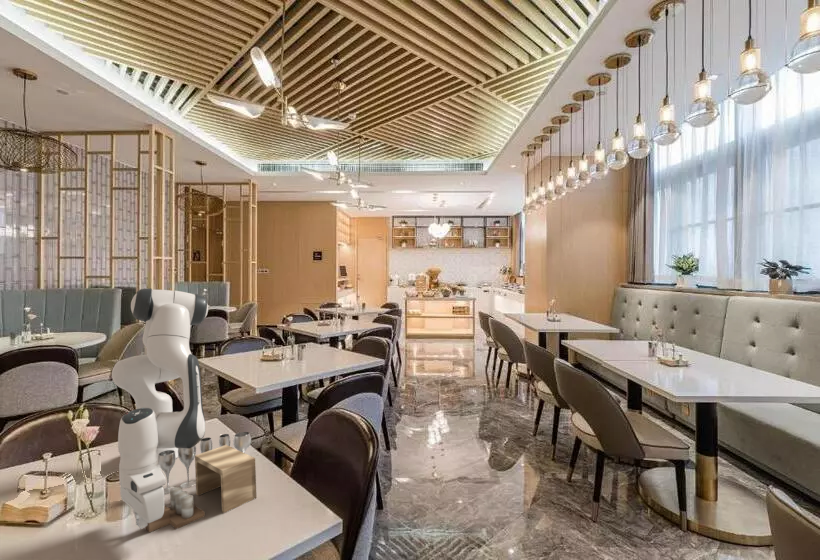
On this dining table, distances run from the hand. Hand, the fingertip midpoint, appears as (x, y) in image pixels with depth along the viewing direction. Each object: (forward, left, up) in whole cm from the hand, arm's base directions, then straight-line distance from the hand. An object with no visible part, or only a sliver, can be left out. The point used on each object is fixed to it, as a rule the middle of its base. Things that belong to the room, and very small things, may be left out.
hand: (141, 525), depth 112 cm
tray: (0, +7, -2) cm, 8 cm away
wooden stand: (0, +23, -2) cm, 23 cm away
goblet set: (-15, +25, -2) cm, 29 cm away
